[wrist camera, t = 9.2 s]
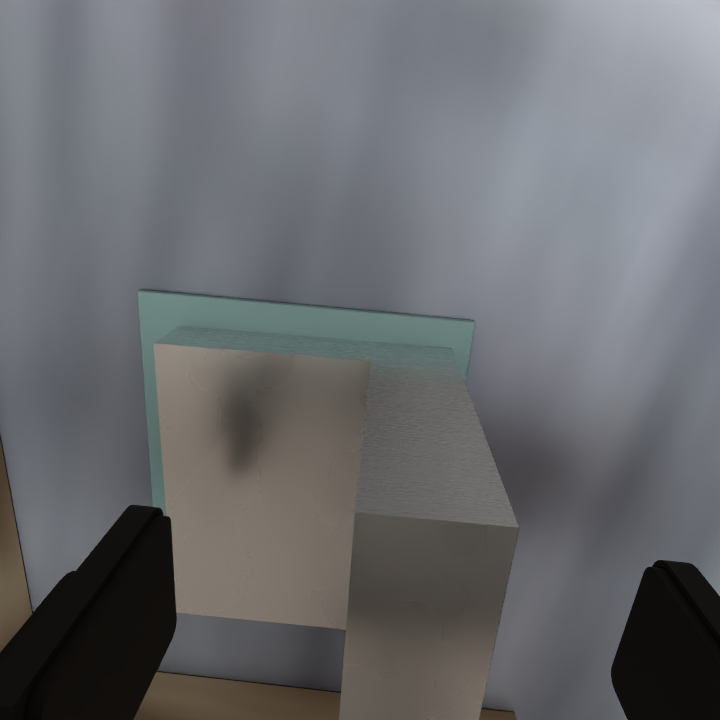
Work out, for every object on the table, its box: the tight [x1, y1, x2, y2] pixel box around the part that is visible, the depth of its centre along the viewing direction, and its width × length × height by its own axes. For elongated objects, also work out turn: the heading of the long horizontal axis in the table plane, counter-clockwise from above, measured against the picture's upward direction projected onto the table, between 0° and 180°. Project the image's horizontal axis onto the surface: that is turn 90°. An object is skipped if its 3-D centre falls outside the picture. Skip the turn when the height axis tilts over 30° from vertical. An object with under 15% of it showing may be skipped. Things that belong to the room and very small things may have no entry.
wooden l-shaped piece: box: [0, 440, 516, 720], centre depth 12 cm, size 22×18×4 cm
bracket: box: [153, 326, 519, 720], centre depth 11 cm, size 8×7×7 cm
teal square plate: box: [138, 290, 475, 516], centre depth 14 cm, size 9×8×1 cm
